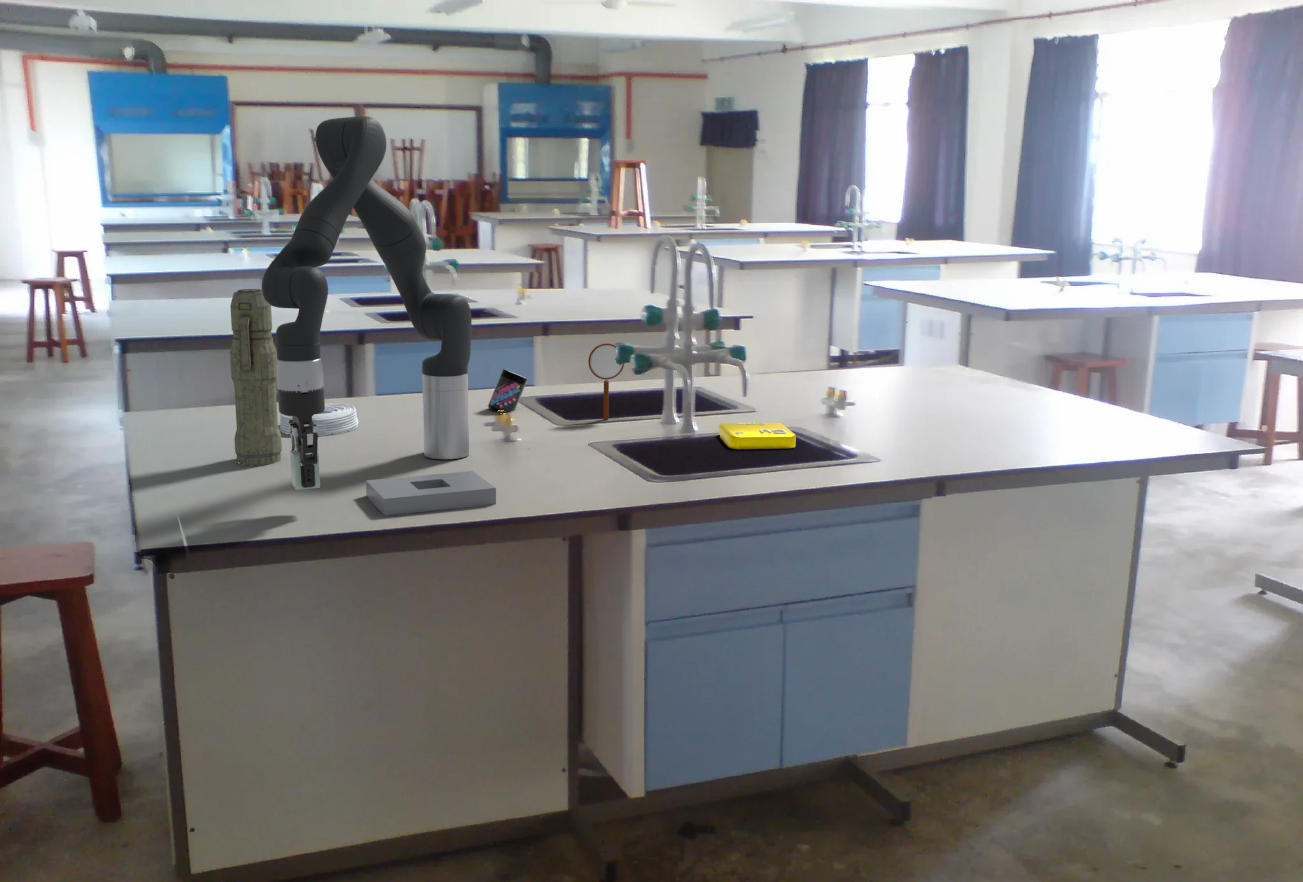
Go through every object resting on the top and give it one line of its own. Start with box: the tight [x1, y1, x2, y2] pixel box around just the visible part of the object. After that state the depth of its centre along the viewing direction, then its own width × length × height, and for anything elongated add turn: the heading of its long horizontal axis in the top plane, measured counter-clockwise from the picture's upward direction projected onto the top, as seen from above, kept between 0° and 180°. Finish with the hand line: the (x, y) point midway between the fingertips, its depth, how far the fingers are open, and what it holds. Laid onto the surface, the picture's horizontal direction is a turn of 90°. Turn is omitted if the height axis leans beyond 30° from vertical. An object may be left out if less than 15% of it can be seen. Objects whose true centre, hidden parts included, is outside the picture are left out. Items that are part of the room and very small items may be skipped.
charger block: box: [289, 449, 321, 491], centre depth 200 cm, size 4×4×6 cm
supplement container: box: [487, 368, 529, 413], centre depth 289 cm, size 7×7×10 cm
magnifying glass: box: [588, 342, 625, 421], centre depth 279 cm, size 9×2×20 cm, turn 101°
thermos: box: [229, 288, 283, 467], centre depth 233 cm, size 9×12×35 cm
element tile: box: [718, 421, 797, 450], centre depth 261 cm, size 15×15×5 cm
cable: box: [279, 402, 359, 437], centre depth 266 cm, size 18×18×6 cm
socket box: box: [365, 470, 497, 516], centre depth 211 cm, size 14×20×3 cm
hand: (306, 483), depth 201 cm, fingers closed on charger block, 4 cm apart
